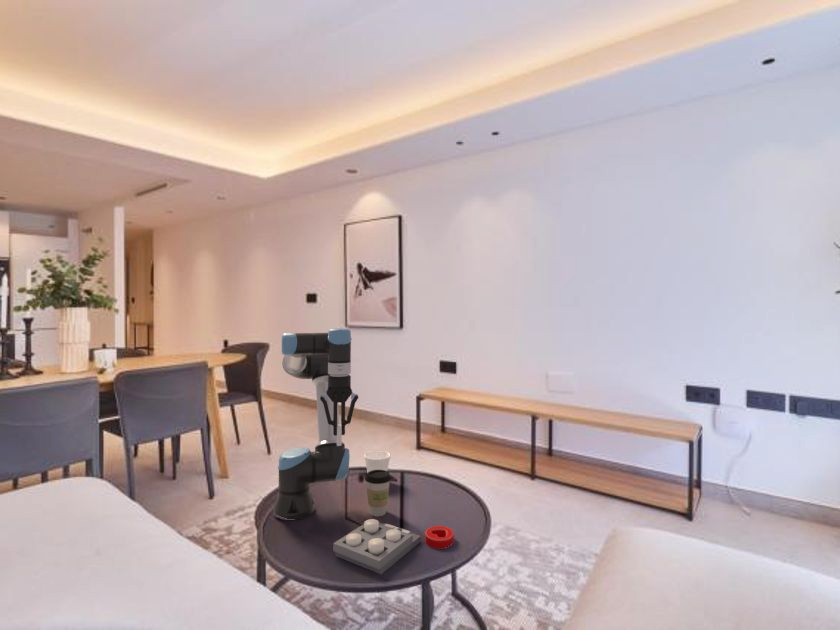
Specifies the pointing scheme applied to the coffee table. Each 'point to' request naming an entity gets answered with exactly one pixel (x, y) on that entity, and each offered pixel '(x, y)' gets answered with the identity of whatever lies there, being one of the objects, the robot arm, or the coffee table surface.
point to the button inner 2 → (371, 526)
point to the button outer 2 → (393, 535)
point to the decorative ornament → (439, 537)
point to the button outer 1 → (376, 546)
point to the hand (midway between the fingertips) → (339, 444)
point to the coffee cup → (377, 491)
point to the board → (374, 562)
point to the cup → (377, 460)
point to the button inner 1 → (353, 539)
